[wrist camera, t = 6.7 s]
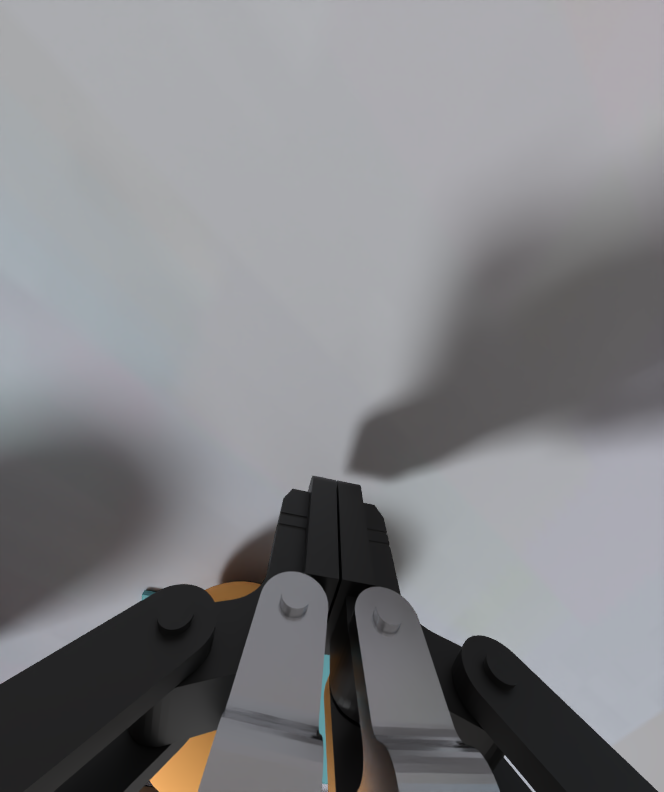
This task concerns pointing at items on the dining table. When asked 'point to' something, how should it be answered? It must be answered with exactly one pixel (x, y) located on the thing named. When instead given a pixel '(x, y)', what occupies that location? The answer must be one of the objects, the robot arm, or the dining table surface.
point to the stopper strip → (148, 789)
